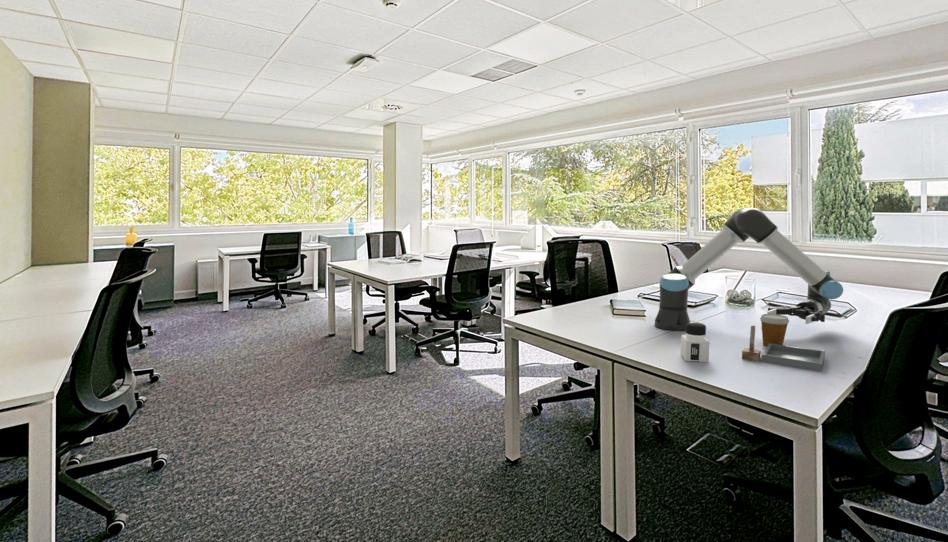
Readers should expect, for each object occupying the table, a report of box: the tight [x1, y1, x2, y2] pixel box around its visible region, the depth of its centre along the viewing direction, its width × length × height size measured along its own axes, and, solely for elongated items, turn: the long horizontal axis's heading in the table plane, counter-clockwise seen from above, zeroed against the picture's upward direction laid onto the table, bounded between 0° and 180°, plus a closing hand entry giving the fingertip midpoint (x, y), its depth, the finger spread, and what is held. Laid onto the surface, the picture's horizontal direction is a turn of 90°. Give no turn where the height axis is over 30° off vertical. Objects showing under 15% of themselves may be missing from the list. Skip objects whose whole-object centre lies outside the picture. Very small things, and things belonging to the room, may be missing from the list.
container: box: [680, 321, 711, 363], centre depth 169 cm, size 8×8×13 cm
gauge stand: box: [741, 324, 761, 362], centre depth 168 cm, size 5×5×12 cm
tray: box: [761, 343, 826, 372], centre depth 167 cm, size 17×17×3 cm
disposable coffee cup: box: [759, 313, 790, 348], centre depth 182 cm, size 10×10×12 cm
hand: (786, 317), depth 187 cm, fingers open, 13 cm apart
